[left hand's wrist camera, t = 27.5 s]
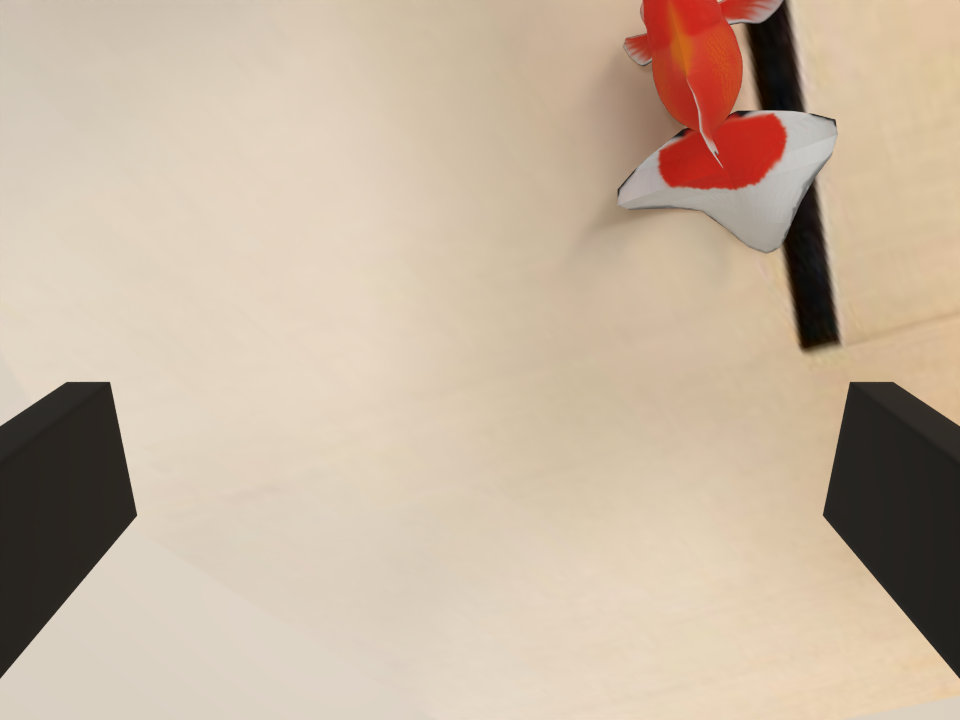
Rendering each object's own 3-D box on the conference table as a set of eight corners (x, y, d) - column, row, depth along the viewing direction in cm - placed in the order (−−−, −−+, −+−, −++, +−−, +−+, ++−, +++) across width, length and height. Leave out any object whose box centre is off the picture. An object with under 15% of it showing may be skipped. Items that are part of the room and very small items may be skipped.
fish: (859, -102, 31) (888, -15, 25) (814, 192, 42) (826, 304, 36) (618, -63, 34) (589, 22, 28) (635, 199, 45) (617, 302, 39)
